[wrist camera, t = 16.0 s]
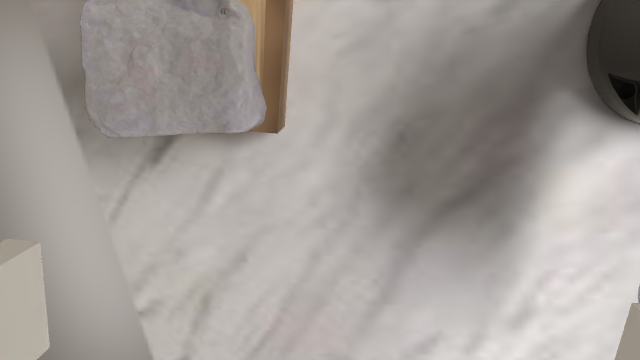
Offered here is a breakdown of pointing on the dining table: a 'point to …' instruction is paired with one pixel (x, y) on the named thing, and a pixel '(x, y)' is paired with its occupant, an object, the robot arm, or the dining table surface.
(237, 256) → the dining table surface
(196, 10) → the stone block
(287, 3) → the tower base block
